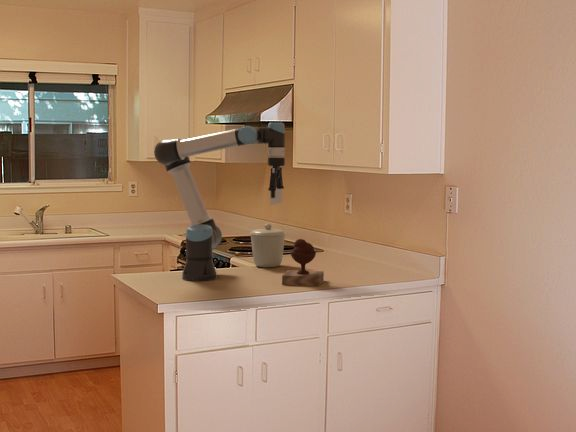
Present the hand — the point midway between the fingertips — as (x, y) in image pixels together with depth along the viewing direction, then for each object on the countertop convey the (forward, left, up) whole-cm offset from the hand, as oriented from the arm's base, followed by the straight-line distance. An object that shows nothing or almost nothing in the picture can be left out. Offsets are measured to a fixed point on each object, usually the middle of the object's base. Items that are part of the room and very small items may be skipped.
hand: (276, 204), depth 349 cm
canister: (-9, +26, -33) cm, 43 cm away
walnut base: (+15, -15, -33) cm, 39 cm away
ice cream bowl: (+15, -15, -29) cm, 36 cm away
